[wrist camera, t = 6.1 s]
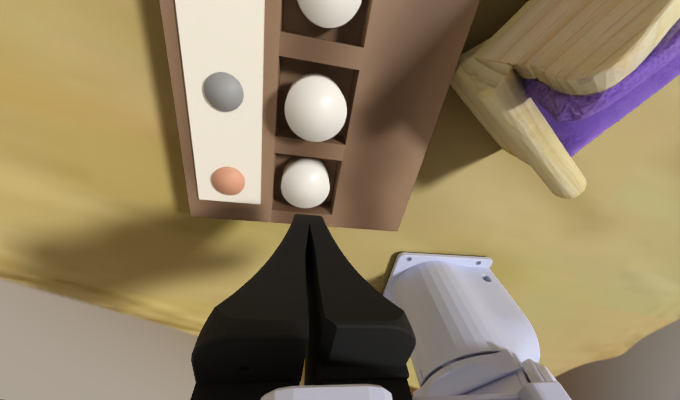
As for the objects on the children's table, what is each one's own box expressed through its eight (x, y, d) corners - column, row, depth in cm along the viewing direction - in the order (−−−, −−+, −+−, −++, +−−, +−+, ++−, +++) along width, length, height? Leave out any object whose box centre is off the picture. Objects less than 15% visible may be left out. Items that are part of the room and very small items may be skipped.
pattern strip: (266, -78, 10) (264, -81, 10) (260, 202, 17) (259, 206, 17) (164, -105, 10) (159, -110, 9) (200, 197, 16) (197, 200, 16)
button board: (472, -49, 13) (502, -64, 11) (388, 211, 22) (397, 231, 20) (166, -136, 11) (133, -175, 9) (203, 196, 19) (190, 216, 17)
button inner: (331, 157, 18) (333, 169, 16) (324, 196, 19) (326, 210, 18) (284, 152, 17) (282, 163, 16) (281, 192, 19) (279, 206, 17)
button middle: (347, 78, 14) (352, 84, 12) (338, 134, 15) (341, 145, 14) (288, 68, 13) (286, 72, 12) (284, 127, 15) (282, 137, 13)
